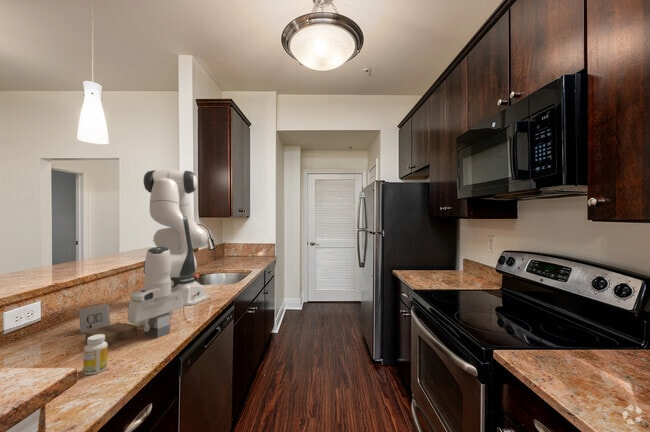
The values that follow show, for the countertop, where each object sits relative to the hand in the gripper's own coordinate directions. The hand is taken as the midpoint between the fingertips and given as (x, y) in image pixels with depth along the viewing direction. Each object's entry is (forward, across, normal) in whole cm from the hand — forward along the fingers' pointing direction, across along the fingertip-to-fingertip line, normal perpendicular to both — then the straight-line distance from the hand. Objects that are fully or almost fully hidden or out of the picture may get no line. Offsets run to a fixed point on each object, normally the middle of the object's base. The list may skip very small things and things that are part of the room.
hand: (157, 327), depth 109 cm
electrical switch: (+3, +7, -27) cm, 28 cm away
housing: (+3, 0, 0) cm, 3 cm away
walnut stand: (+3, +9, -12) cm, 15 cm away
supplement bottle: (+3, +25, +8) cm, 26 cm away
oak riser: (+3, -3, -14) cm, 15 cm away
